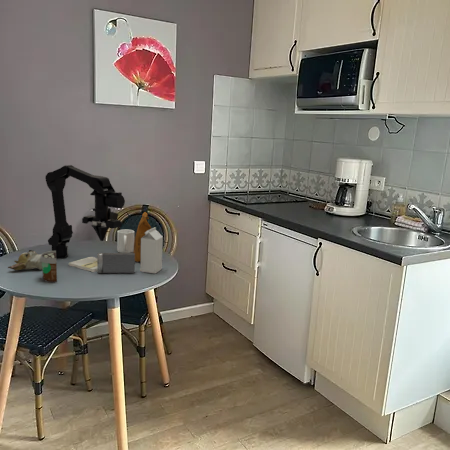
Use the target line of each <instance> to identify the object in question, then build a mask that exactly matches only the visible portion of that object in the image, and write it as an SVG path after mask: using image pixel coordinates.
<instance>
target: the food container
mask: <svg viewBox="0 0 450 450" xmlns="http://www.w3.org/2000/svg"><path fill="white" fill-rule="evenodd" d="M40 261H41V262H42V278H43V281H46V282H49V283H57V282H58V275H57V274H58V273H57V269H58V267H57V258H56V251H52V250H48V251H45V252H42V253H41V256H40Z"/></svg>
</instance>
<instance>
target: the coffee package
mask: <svg viewBox="0 0 450 450" xmlns="http://www.w3.org/2000/svg"><path fill="white" fill-rule="evenodd" d="M141 216H142V217H141V218H140V220H139V222H138V225H137V229H136V232H135V235H134V250H133V252H132V253H135V263H138V262H140V263H141V238H142V237H143V236H145V235H146V234H145V232H146V231H148V230H150V229H152V228H153V227H152V226H151V225H150V224H149V222H148V220H149V219H150V218H149V216H148V213H147V212H146V211H144V212H143V213H142V214H141Z"/></svg>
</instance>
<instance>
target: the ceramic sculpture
mask: <svg viewBox="0 0 450 450" xmlns="http://www.w3.org/2000/svg"><path fill="white" fill-rule="evenodd" d="M41 254H42V253H41ZM41 254H40V253H39V254H38V253H37V252H36V251H34V250H32V249H28V252H23V253H21V254H20V255H19V256H18V257H17V258H18V259H17V260H14V264H13V265H10V266H7V269H11V270H15V271H21V270H28V271H29V270H33V269H38V270H39V271H40V270H42V271H43V269H42V262H41V261H40V256H41Z"/></svg>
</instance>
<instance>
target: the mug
mask: <svg viewBox="0 0 450 450" xmlns="http://www.w3.org/2000/svg"><path fill="white" fill-rule="evenodd" d="M116 234H117V236H116V237H117V238H116V239H117V242H116V243H117V244H116V245H117V246H116V247H117V248H116V250H117V253H133V250H134V239H135V231H134V230H133V229H128V228H127V229H125V228H124V229H119V230H117V233H116Z"/></svg>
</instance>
